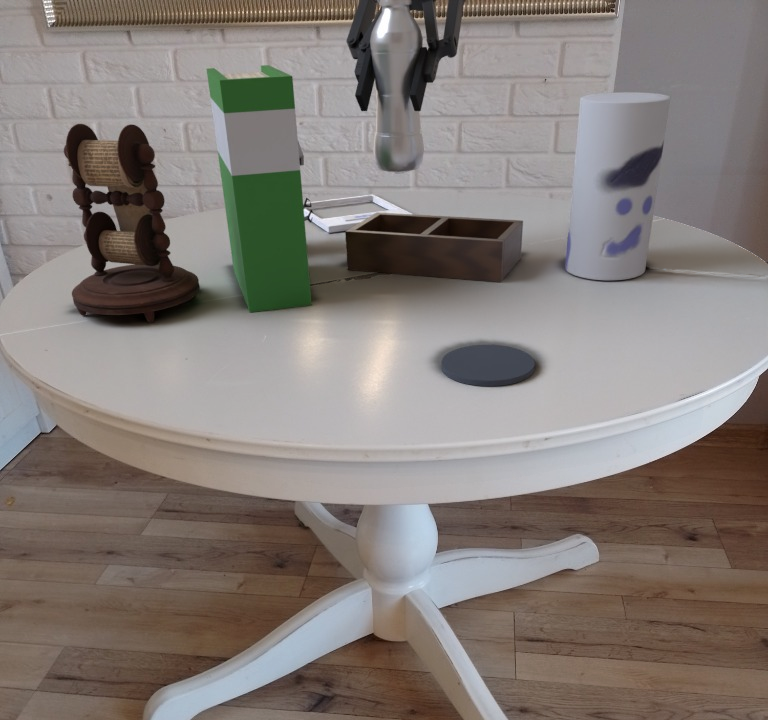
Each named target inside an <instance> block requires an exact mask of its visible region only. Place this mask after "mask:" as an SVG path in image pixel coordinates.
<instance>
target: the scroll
mask: <svg viewBox="0 0 768 720" xmlns="http://www.w3.org/2000/svg"><path fill="white" fill-rule="evenodd" d="M63 154H64V156H65V158H66V159H67V161H68V167H70V168H71V170H72V175H71V179H72V183H73V185H74V186H75V188H74V189H73V190H72V199H73V201H74V203H75V204H76V205H77V206H79V207H78V209H79V210H81V211H82V217H81V218H82V219H81V223H82V225H83V227H84V228H85V230H84V232H83V240H84V241H85V243H86V248H87V249H88V252H89V254H90V256H91V259H90V265H91V267H92V269H94V270H95V272H94V273H93V274H91V275H89V276H87V277H86V278H84V279H83V280H81V282H80V283H79V284H77V285H76V286H74V287H73V289H72V291H71V298H72V301H73V305H74V306H75V307H76V310H77V312H78V313H79V315H81V316H82V317H84V316H86V315H87V313H90V314H95V315H104V316H105V315H107V316H122V315H124V316H126V315H136V314H144V317H145V319H146V321H147V322H148V323H150V324H151V323H153V322H154V320H155V312H157V311H161V310H164V309H168V308H169V309H170V308H172V307H176V306H178V305H181V304H183V303H186V302H188V301H190V300H191V299H194V298H196V297H197V295H198V294H199V292H200V289H201V287H200V282H199V281H200V280H199V277H198V275H197V274H195V273H194V272H192V271H190V270H187V269H185V268H184V267H180V266H176V265H174V264H173V262H172V261H171V259H170V257H169V256H170V255H171V254H172V253H171V251H170V250H168V249H169V248H170V246H171V239H170V237H169V235H168V234H167V233H165V231H166V229H167V228H166V222H165V221H164V218H163V216H162V215H161V213H163V211H164V209H163V208H164V206H165V195H164V193H162V191H161V190H158V186H159V181H158V179H157V177H156V174H155V172H154V169H155V168H156V164H154V163H153V161H154V160H155V157H156V155H155V154H156V153H155V150H154V148H153V147H152V146H151V145H150V143H149V140H148V138H147V136H146V134H145V133H144V131H143V130H142V128H141V127H139V126H138V125H136V124H127V125H125V126H124V127H123V128H122V129H121V131H120V133H119V135H118V139H117V140H110V139H109V140H105V139H103V140H102V139H98V137H97V135H96V133H95V132H94V130H93V129H92V128H91V127H90V126H89V125H87V124H84V123H76V124H74V125H73V126H71V127H70V129H69V130H68V133H67V134H66V139H65V145H64V147H63ZM86 185H88V186H91V187H107V192H103V191H101V190H94V191H92V189H91V188H90V187H88V186H86ZM105 203H107V204H108V205H109V206H112V207H113V210H114V213H115V217H116V220H117V223H118V227H119V230H118V229H117V225H116V224H115V221H114V220H113V218H112V216H110V215H109V214H108V213H106V212H104V211H95V212H94V213H93V212H92V210H91V209H92V208H93V204H95V205H102V204H105ZM108 262H109V263H114V264H115V263H116V264H126V265H120V266H115V267H112V268H108V269H106V266H107V263H108Z"/></svg>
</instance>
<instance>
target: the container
mask: <svg viewBox="0 0 768 720" xmlns="http://www.w3.org/2000/svg"><path fill="white" fill-rule="evenodd" d="M670 104H671V97H670V96H669V95H667V94H662V93H656V92H655V93H653V92H641V91H640V92H639V91H638V92H635V91H633V92H632V91H631V92H630V91H627V92H624V91H623V92H621V91H620V92H601V93H592V94H586V95H584V96H581V97H580V99H579V111H578V120H577V121H578V122H577V133H576V142H575V143H576V144H575V152H574V153H575V154H574V155H575V156H574V165H573V174H572V175H573V177H572V186H571V187H572V189H571V199H570V208H569V221H568V232H567V242H566V255H565V265H564V269H565V271H567V273H569V274H570V275H573V276H575V277H579V278H582V279H587V280H594V281H595V280H596V281H624V280H630V279H634V278H637V277H640V276H642V275H643V274H644V273H645V272H646V266H647V260H648V252H649V247H650V241H651V240H650V239H651V234H652V233H651V232H652V227H653V226H652V225H653V219H654V212H655V206H656V199H657V191H658V184H659V178H660V177H659V176H660V171H661V165H662V159H663V158H662V157H663V151H664V143H665V138H666V131H667V124H668V116H669V109H670Z"/></svg>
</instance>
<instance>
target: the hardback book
mask: <svg viewBox="0 0 768 720" xmlns="http://www.w3.org/2000/svg"><path fill="white" fill-rule="evenodd" d="M206 75H207V83H208V91H209V97H210V98H209V99H210V104H211V112H212V121H213V128H214V134H215V142H216V150H217V156H218V163H219V171H220V179H221V184H222V185H221V186H222V195H223V201H224V209H225V215H226V223H227V230H228V239H229V246H230V253H231V258H232V266H233V267H232V268H233V273H234V276H235V278H236V281H237V283H238V286H239V288H240V291H241V294H242V296H243V299H244V302H245V304H246V307H247V310H248V312H249V313H256V312H257V313H258V312H266V311H274V310H282V309H291V308H299V307H309V306H312V305H313V304H312V293H311V280H310V271H309V270H310V269H309V258H308V257H309V256H308V246H307V245H308V244H307V233H306V232H307V231H306V221H305V220H304V217H305V216H304V208H303V203H304V199H303V186H302V173H301V166H300V161H299V149H298V141H299V139H298V138H299V137H298V126H297V116H296V115H297V114H296V104H295V103H296V102H295V91H294V78H293V75H291V74H290V73H286V72H285V71H282V70H280V69H278V68H276V67H273V66H272V65H269V64H264V65H260V71H257V72H242V73H239V72H238V73H221V72H220V71H218V69H216V68H215V67H212V68H211V67H210V68H206Z"/></svg>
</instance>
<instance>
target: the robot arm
mask: <svg viewBox="0 0 768 720" xmlns="http://www.w3.org/2000/svg"><path fill="white" fill-rule="evenodd" d="M379 1H380V0H359V2H358V4H357V7H356V10H355V13H354V16H353V20H352V23H351V26H350V29H349V32H348V35H347V37H346V41H345V42H346V44H347V47H348V50H349V52H350V55H351V57H352V59H353V60H356V63H355V67H354V76H355V78H356V81H357V85H356V89H355V94H354V96H355V99H356V102H357V104H358V106H359V109H360V110H361V112H368V109H369V105H370V101H371V97H372V93H373V89H374V86H375V85H374V84H375V74H374V67H373V61H372V54H371V52H372V51H371V47H370V38H371V33H372V30H373V28H374V26H375V24H376V22H377V20H378V18H379V16H380V15H381V13H382V6H381V7H380V8H379V10H378V11H377V7H378V5H377V3H379ZM466 1H467V0H448V3H447V10H446V17H445V23H444V31H443V37H442V38H441V39H440V36H439V29H438V28H439V27H438V22H437V13H436V5H435V3H436V2H437V0H412V4H410V5H409V9H410V12H411V11H417V12H422V14H423V20H424V28H425V35H426V40H425V41H426V45H427V46H422V47H421V48H420V51H419V56H418V60H417V64H416V69H415V73H414V77H413V82H412V86H411V90H410V98H411V102H412V105H413V108H414V111H419V112H421V111H422V106H423V102H424V98H425V93H426V89H427V85H428V84H429V83H430V84H433V83H434V82H435V80H436V77H437V72H438V68H439V64H440V61H441V60H442V59H443V58H445V57H447V58H449V59H451V58H452V59H453V58H455V57H456V56H457V54H458V47H459V40H460V34H461V27H462V21H463V19H462V18H463V12H464V5H465V3H466ZM376 12H377V13H376ZM375 14H376V15H375Z"/></svg>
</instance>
